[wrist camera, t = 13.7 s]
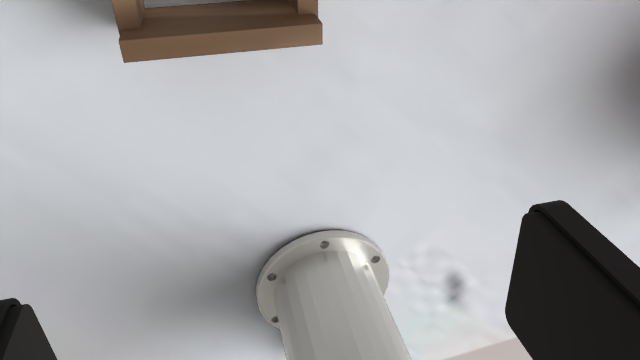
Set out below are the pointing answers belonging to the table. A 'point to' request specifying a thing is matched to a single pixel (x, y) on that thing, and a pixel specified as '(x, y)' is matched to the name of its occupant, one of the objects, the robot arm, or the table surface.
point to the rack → (214, 28)
